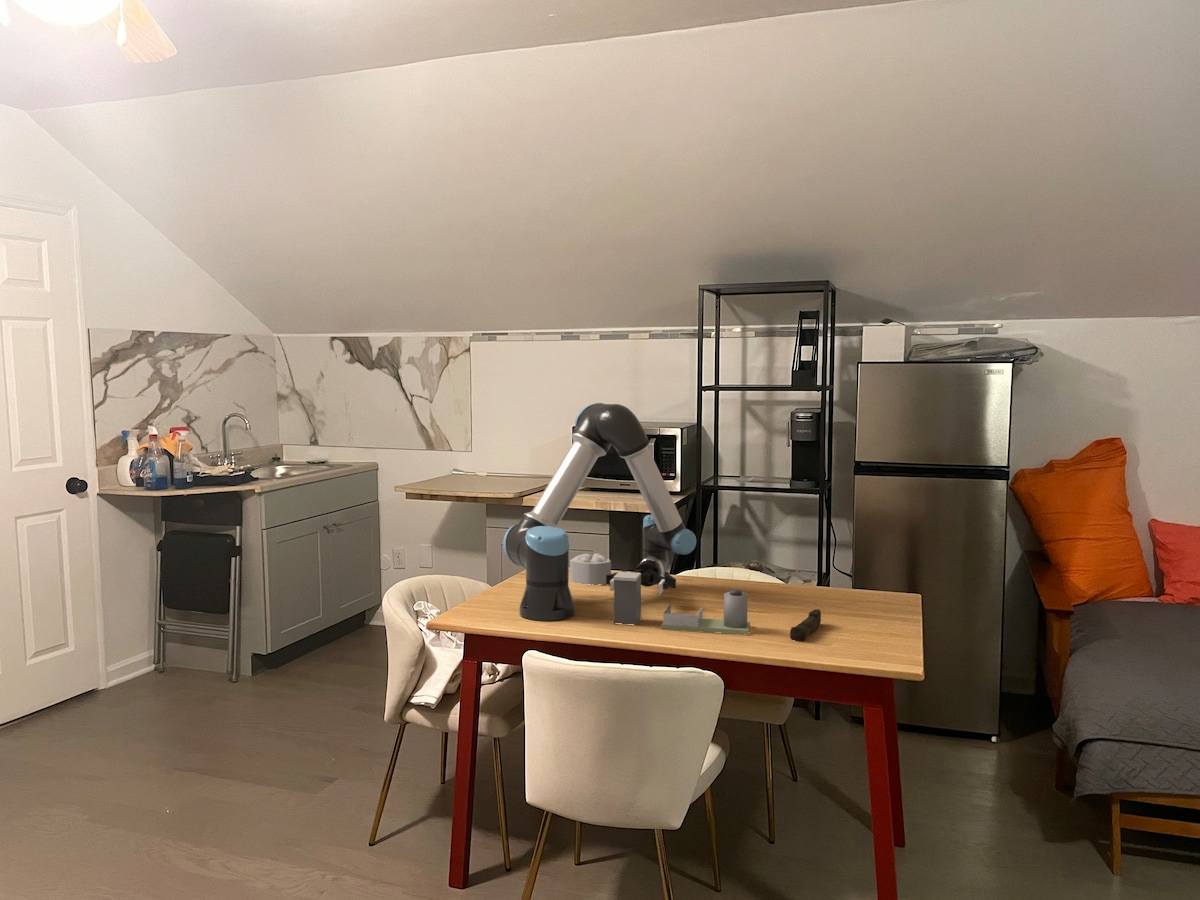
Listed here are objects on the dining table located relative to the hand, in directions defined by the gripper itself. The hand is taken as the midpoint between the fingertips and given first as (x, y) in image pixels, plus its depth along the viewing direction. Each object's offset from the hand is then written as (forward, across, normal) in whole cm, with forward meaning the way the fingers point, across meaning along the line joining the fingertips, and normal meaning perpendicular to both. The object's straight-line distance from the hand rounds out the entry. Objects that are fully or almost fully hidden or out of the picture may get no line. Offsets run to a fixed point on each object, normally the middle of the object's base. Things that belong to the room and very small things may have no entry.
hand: (635, 587), depth 239 cm
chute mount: (+10, -15, -6) cm, 19 cm away
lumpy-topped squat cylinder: (-35, +21, -8) cm, 42 cm away
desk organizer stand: (+9, -21, -7) cm, 24 cm away
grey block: (+9, 0, -7) cm, 12 cm away
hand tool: (+7, -46, -8) cm, 47 cm away
